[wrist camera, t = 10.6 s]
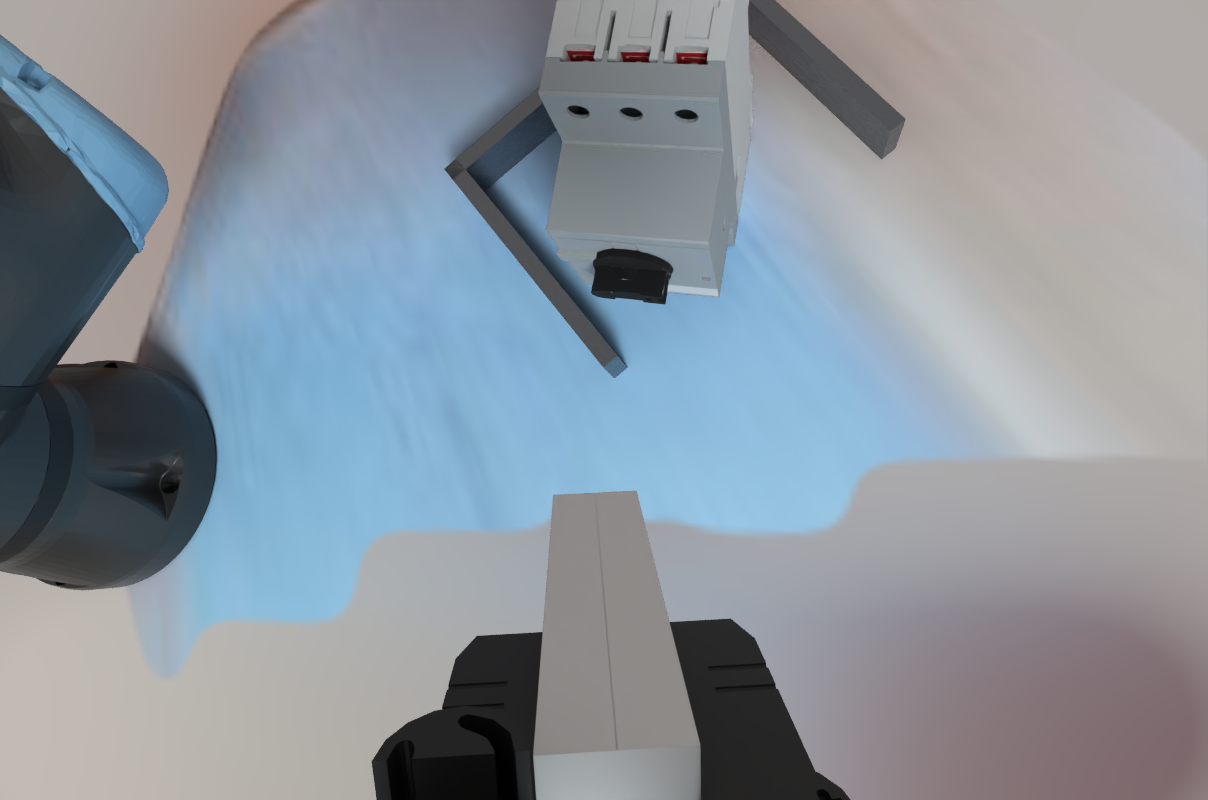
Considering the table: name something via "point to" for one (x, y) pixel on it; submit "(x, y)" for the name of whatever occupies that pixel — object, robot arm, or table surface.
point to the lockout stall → (534, 125)
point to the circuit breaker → (648, 141)
